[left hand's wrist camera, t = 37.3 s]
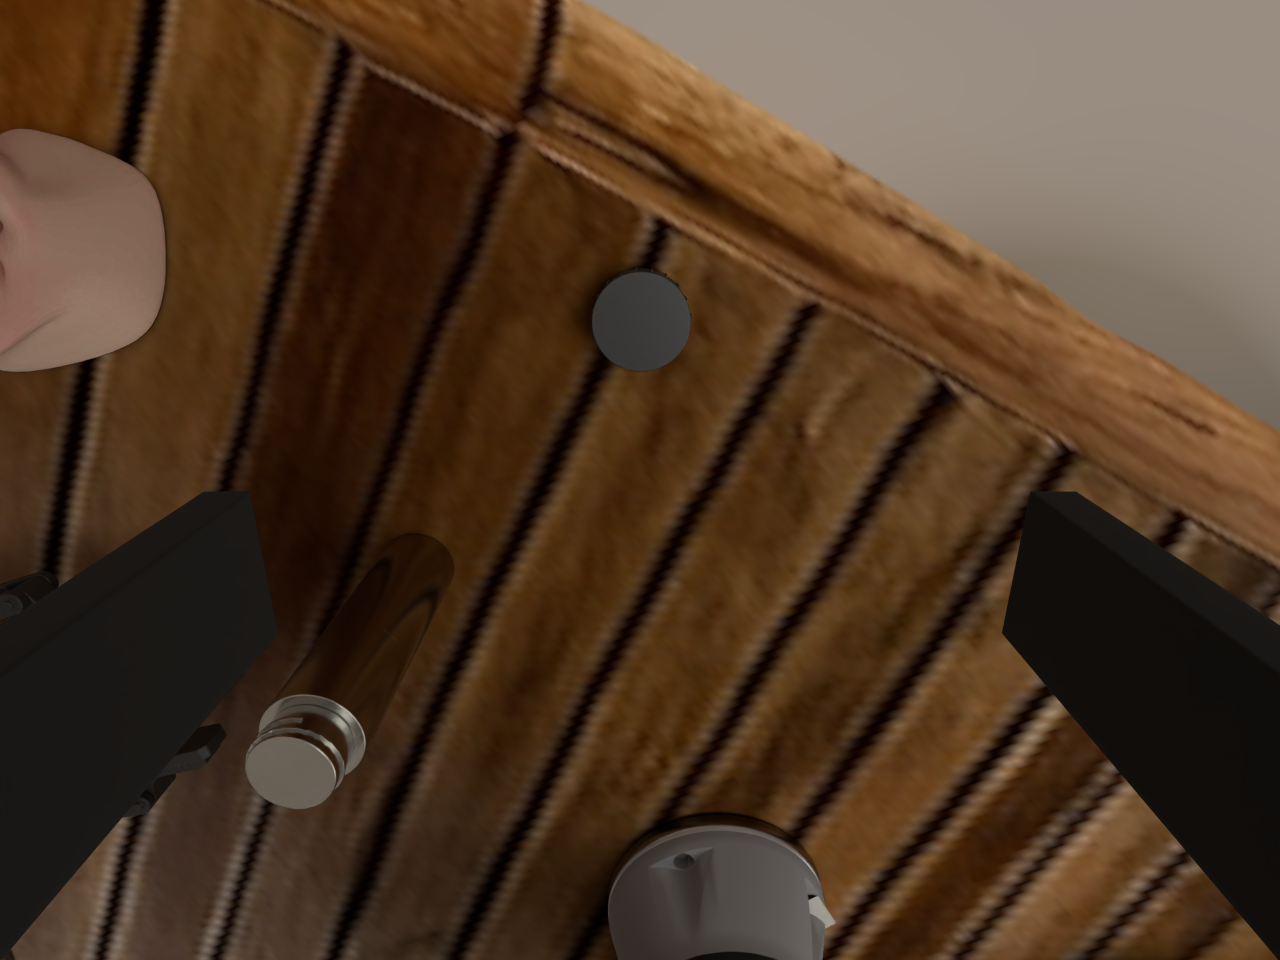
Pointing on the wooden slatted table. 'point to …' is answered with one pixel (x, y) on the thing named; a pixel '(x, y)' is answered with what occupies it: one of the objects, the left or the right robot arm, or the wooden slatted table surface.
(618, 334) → the lid
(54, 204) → the anatomical model
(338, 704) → the dark brown cylindrical piece
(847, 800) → the wooden slatted table surface
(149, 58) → the wooden slatted table surface
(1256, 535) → the wooden slatted table surface
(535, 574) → the wooden slatted table surface
